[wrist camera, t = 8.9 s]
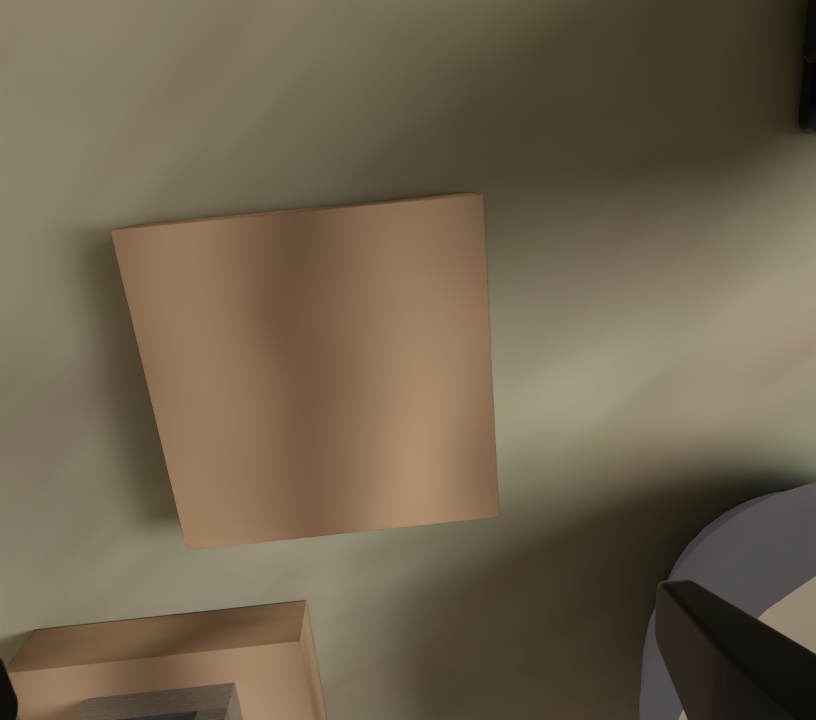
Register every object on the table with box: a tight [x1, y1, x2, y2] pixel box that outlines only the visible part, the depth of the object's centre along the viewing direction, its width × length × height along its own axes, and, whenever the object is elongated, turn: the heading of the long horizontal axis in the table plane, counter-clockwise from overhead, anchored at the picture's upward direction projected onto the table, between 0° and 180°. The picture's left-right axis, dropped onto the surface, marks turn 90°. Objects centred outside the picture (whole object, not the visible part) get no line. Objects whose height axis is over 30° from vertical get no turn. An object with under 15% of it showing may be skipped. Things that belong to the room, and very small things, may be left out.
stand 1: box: [110, 192, 499, 550], centre depth 18 cm, size 10×10×2 cm
